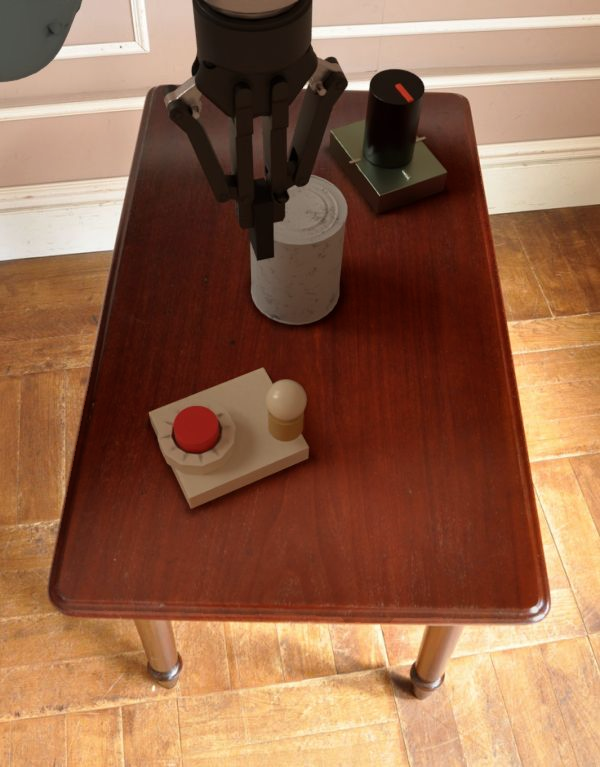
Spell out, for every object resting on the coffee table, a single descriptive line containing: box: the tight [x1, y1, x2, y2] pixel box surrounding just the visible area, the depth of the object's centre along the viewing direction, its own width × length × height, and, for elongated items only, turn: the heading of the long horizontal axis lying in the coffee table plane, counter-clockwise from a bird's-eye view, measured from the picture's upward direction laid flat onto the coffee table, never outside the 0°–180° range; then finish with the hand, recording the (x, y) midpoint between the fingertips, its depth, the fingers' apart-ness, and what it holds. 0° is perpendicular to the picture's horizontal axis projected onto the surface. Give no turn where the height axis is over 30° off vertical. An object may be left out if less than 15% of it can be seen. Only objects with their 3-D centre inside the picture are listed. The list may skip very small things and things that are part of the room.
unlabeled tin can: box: [249, 174, 349, 326], centre depth 87 cm, size 10×10×12 cm
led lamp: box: [265, 378, 308, 442], centre depth 76 cm, size 4×4×6 cm
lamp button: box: [173, 406, 219, 453], centre depth 78 cm, size 4×4×2 cm
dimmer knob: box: [363, 68, 426, 168], centre depth 97 cm, size 6×6×9 cm
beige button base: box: [148, 367, 310, 509], centre depth 80 cm, size 10×12×4 cm
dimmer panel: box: [328, 118, 448, 215], centre depth 102 cm, size 12×10×3 cm
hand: (261, 247), depth 72 cm, fingers closed
